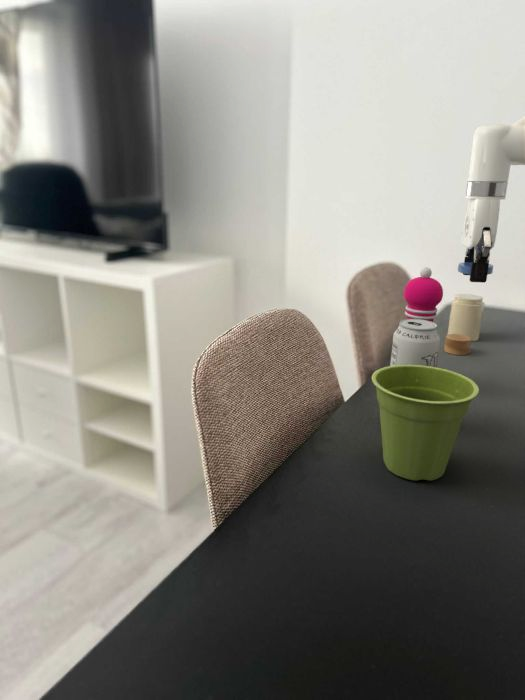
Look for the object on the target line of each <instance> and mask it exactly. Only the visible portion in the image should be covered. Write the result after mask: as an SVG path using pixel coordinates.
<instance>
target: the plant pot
mask: <svg viewBox="0 0 525 700" xmlns="http://www.w3.org/2000/svg"><path fill="white" fill-rule="evenodd" d="M371 381H372V384H373V385H374V387H376V388H375V389H376V400H377V402H378V407H379V419H380V431H381V433H380V434H381V442H382V443H381V445H382V446H381V447H382V458H383V463H384V464H385V467H386V469H387V470H388V471H389V472H391V473H392V474H394V475H395V476H397V477H400V478H403V479H405V480H409V481H420V480H426V481H428V482H429V481H430V482H431V481H435V480H438V479H439V478H441V477H442V476H443V475H444V474H445V471H446V469H447V466H448V463H449V460H450V457H451V454H452V451H453V448H454V445H455V442H456V439H457V437H458V434H459V431H460V428H461V425H462V422H463V419H464V416H466V414H467V413H468V411H469V408H470V406H471V402H472V400H473V399H476V397H477V396H478V395H479V392H480V389H479V385H477V384H476V382H475V381H474V380H472V379H471V378H469V377H468V376H465V375H463V374H461V373H458V372H456V371H453V370H449V369H445V368H441V367H430V366H423V365H394V366H390V365H389V366H384V367H381V368H379V369H377V370H375V371H374V372H373V373H372V375H371Z"/></svg>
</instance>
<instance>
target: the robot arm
mask: <svg viewBox="0 0 525 700" xmlns="http://www.w3.org/2000/svg"><path fill="white" fill-rule="evenodd" d="M511 166H525V115H524V116H523V117H521V118H519V119H518V120H517V121H516V122H514V123H513V124H512V125H510V124H502V123H501V124H500V123H499V124H485V125H481V126H478V127H477V128H475V131H474V133H473V137H472V144H471V151H470V161H469V168H468V176H467V183H466V191H465V199H468V202H467V206H466V207H467V208H466V211H465V217H464V223H463V228H462V233H461V242H460V243H461V244H462V245H463V246H464V247H466V250H465V256H464V260H463V262H472V266H471V273H470V274H464V273H462V275H463V276H469V282H470V283H487V279H488V275H487V273H488V266H489V264H490V256H491V250H492V249H493V248H495V244H496V240H497V235H498V225H499V219H500V218H499V217H500V206H501V200H506V197H507V191H508V184H509V177H510V171H511Z"/></svg>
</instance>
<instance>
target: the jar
mask: <svg viewBox="0 0 525 700" xmlns="http://www.w3.org/2000/svg"><path fill="white" fill-rule="evenodd" d="M483 300H484V297H483V296H481V295H477V294H473V293H457V294H455V295H454V299H452V300H451V307H450V313H449V320H448V327H447V334H446V335H448V334H461V335H465V336H468V337H470V338H471V342H476V341H479V339H480V334H481V327H482V323H483V315H484V310H485V302H483Z"/></svg>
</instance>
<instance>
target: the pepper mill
mask: <svg viewBox="0 0 525 700" xmlns="http://www.w3.org/2000/svg"><path fill="white" fill-rule="evenodd" d="M432 273H433V272H432V269H431V268H430V267H427V266H426V267H423V268H421V269H420V271H419V275H420V276H418V277H414V278H412V279H411V280H409V281H408V282H407V284H406V285H405V287H404V291H403V299H404V300H405V302H406V303H407V305H406V306H405V311H404V315H405V316H406V319H421V320H427V321H430V322H433V323H434V320H435V319H436V318H437V317H438V315H437V312H438V311H439V310H438V308H437V306H438V305H439V304H440V303H441V302H442V301H443V297H444V289H443V286H442V284H441V283H440V281H438V280H437V279H435V278H432V277H431V276H432ZM437 361H438V357H437ZM436 368H438V363H437V364H436Z"/></svg>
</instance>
